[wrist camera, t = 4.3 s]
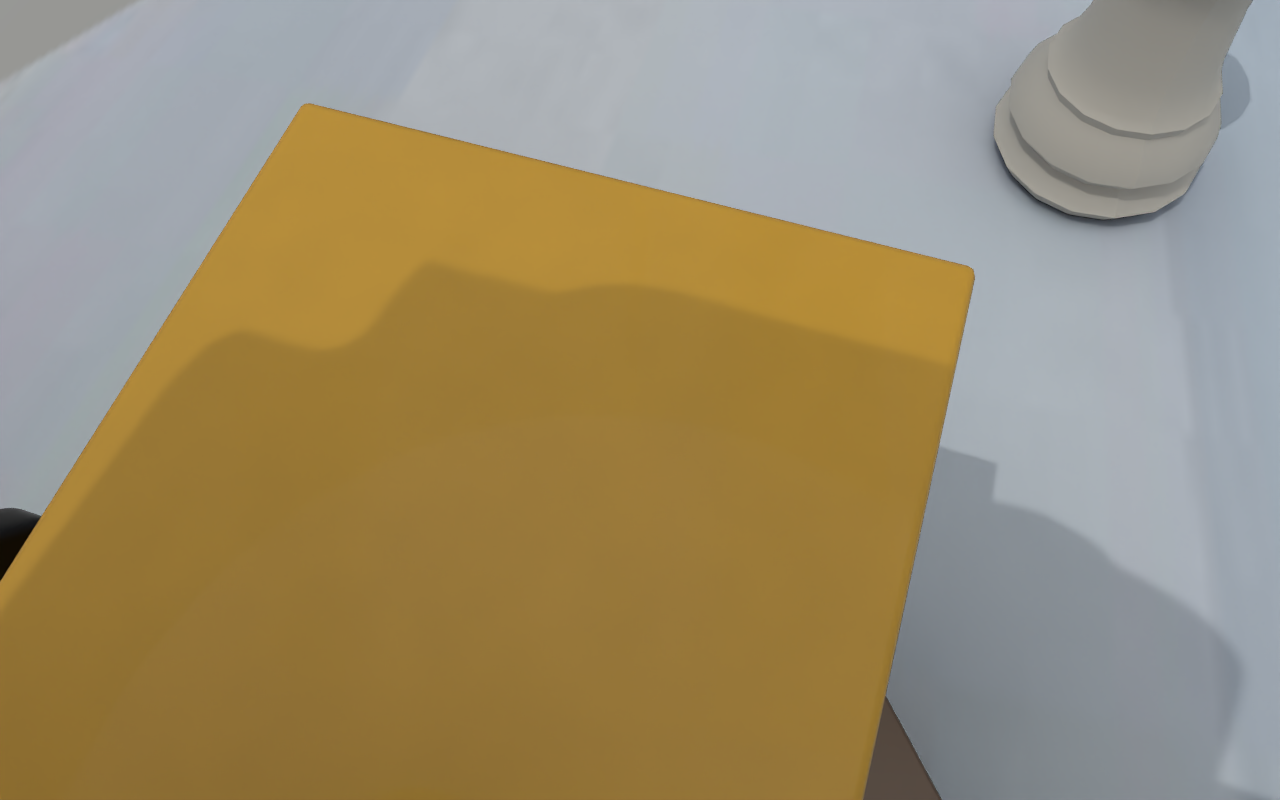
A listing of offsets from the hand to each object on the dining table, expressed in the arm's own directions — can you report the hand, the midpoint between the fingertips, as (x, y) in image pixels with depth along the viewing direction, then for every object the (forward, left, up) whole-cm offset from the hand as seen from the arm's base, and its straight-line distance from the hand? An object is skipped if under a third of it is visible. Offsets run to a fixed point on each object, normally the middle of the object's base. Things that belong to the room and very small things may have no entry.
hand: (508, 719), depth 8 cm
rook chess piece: (+8, -15, -9) cm, 20 cm away
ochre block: (+1, -1, -6) cm, 6 cm away
